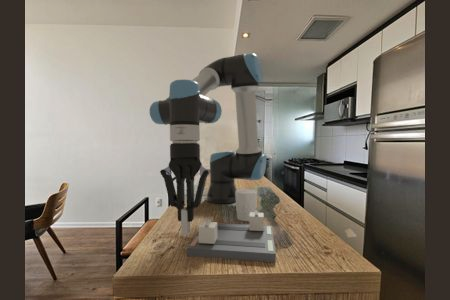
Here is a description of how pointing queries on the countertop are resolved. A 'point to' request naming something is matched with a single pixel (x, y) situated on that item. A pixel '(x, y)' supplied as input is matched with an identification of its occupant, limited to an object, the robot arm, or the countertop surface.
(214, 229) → the breaker
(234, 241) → the switch panel
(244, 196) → the white cup
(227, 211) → the countertop surface
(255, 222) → the block
